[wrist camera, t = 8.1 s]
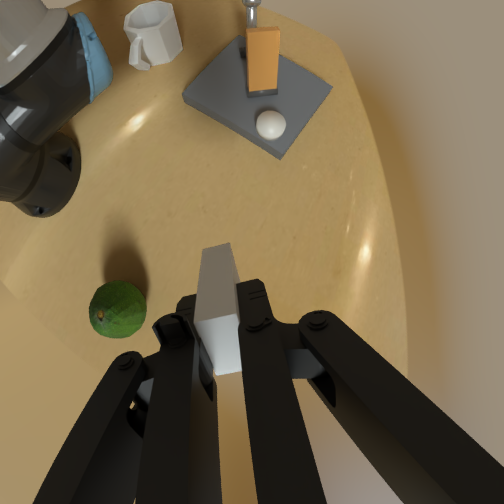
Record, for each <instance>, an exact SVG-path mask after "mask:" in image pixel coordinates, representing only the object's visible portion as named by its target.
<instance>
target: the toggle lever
mask: <svg viewBox="0 0 504 504" xmlns="http://www.w3.org/2000/svg"><path fill="white" fill-rule="evenodd" d="M242 3H243V5H244V6H246V12H247V29H249V28H256V23H257V6H259V5H260V3H261V0H242ZM239 53H240V57H241V58H243V57H246V47H240V48H239Z"/></svg>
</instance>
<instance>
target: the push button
mask: <svg viewBox="0 0 504 504" xmlns="http://www.w3.org/2000/svg"><path fill="white" fill-rule="evenodd" d="M285 127H286V121H285V119H284V117H283V116H282V115H281V114H280V113H278V112H276V111H265V112H263V113H261V114H260V115H259V117H258V118H257V123H256V132H257V134H258V135H259V137H260V138H262V139H263V140H266V141H275V140H277V139H279V138H280V137H281V136H282V134H283V132H284V130H285Z"/></svg>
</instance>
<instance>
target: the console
mask: <svg viewBox="0 0 504 504" xmlns="http://www.w3.org/2000/svg"><path fill="white" fill-rule="evenodd" d="M240 47H246V38H245V37H243V36H241V35H238V36H237V37H236V38H235V39H234V40H233V41H232V42H231V43H230V44H229V45H228V46H227V47H226V48H225V49H224V50H223V51H222V52H221V53H220V54H219V55H218V56H217V57H216V58H215V59H214V60H213V61H212V62H211V63H210V64H209V65H208V66H207V67H206V68H205V69H204V70H203V71H202V72H201V73H200V74H199V75H198V76H197V77H196V78H195V80H194V81H193V82H192V83H191V84H190V85H189V86H188V87H187V88H186V90H185V91H184V92H183V93H182V96H183V99H184V102H185V103H186V104H188V105H190V106H192V107H194V108H196V109H197V110H199V111H201V112H203V113H204V114H206V115H208V116H210V117H211V118H213V119H215V120H217V121H218V122H220V123H222V124H223V125H225V126H227V127H228V128H230V129H232V130H233V131H235V132H237V133H238V134H240V135H242V136H243V137H245V138H246V139H248V140H250V141H251V142H253V143H254V144H256V145H257V146H259V147H261V148H262V149H264V150H265V151H267V152H268V153H270V154H271V155H273V156H274V157H276V158H277V159H279V160H281V159H282V157H283V156H284V154H285V153H286V152H287V150H288V149H289V147H290V146H291V145H292V143H293V142H294V140H295V139H296V138H297V136H298V135H299V134H300V132H301V131H302V129H303V128H304V127H305V125H306V124H307V123H308V121H309V120H310V118H311V117H312V116H313V114H314V113H315V112H316V110H317V109H318V108H319V106H320V105H321V104H322V102H323V101H324V100H325V98H326V97H327V95H328V94H329V92H330V91H331V89H332V88H333V87H332V86H331V85H329V84H328V83H326V82H325V81H323V80H322V79H320V78H319V77H317V76H315V75H314V74H312V73H311V72H309V71H307V70H306V69H304V68H302V67H301V66H299V65H297V64H295V63H294V62H292V61H290V60H288V59H287V58H285V57H283V56H281V55H279V58H278V74H277V86H278V95H271V96H262V97H254V98H247V94H246V87H248V86H247V58H246V57H243V58H241V57H240V53H239V48H240ZM265 111H276V112H278V113H280V114H281V115H282V116H283V117H284V119H285V121H286V127H285V130H284V132H283V134H282V136H281V137H280V138H279V139H277V140H275V141H266V140H263V139H262V138H260V137H259V135H258V134H257V132H256V123H257V118H258V117H259V115H260V114H261V113H263V112H265Z"/></svg>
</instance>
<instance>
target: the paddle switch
mask: <svg viewBox="0 0 504 504" xmlns="http://www.w3.org/2000/svg"><path fill="white" fill-rule="evenodd" d="M245 30H246V58H247V86H248V87H246V94H247V98H254V97H262V96H271V95H278V86H277V74H278V58H279V42H280V29H279V28H278V27H261V28H249V29H245Z"/></svg>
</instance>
